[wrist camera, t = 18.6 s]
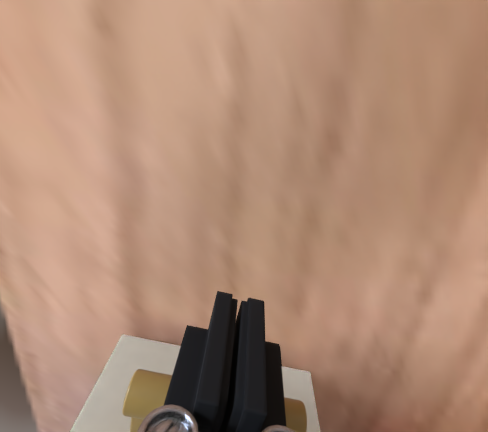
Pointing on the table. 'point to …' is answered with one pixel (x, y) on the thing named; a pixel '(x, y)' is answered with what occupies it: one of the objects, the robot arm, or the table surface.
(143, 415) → the drawer
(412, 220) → the table surface
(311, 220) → the table surface
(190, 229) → the table surface
